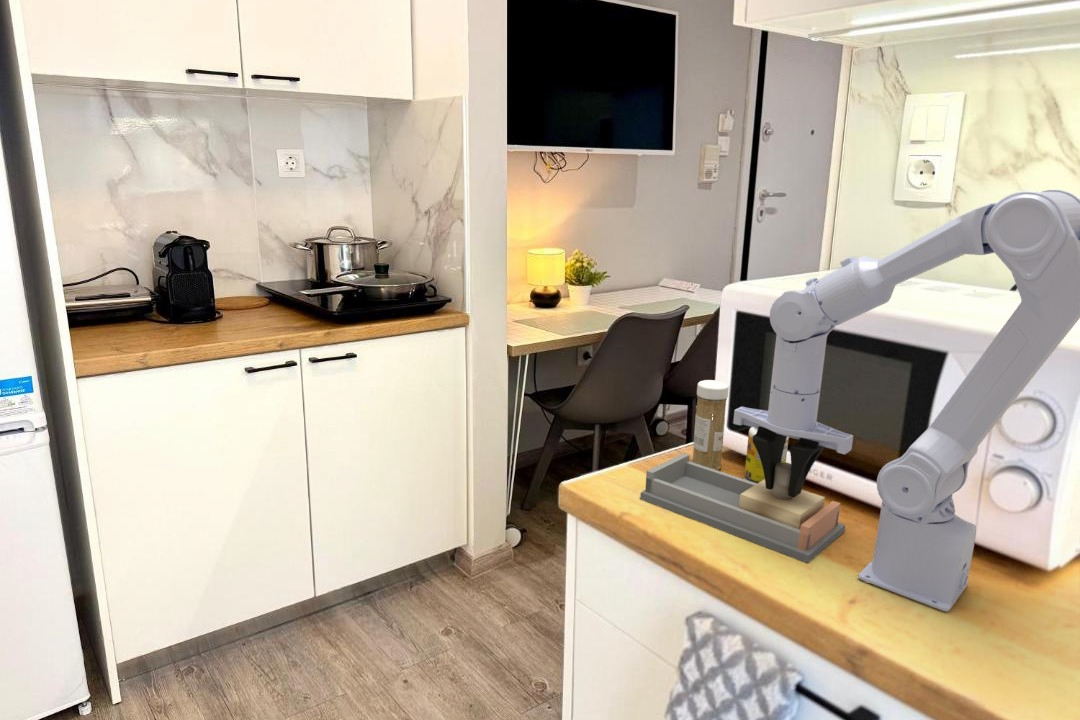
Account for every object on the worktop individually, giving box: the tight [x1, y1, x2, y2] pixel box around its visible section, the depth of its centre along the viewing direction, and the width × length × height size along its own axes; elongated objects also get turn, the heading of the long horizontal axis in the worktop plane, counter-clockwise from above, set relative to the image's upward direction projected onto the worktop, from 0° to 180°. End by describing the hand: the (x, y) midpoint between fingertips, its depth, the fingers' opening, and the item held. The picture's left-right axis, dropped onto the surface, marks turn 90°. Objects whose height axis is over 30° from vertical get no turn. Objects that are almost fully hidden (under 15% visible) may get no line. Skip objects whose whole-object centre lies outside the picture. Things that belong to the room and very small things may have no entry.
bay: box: [639, 452, 846, 564], centre depth 100 cm, size 24×11×4 cm, turn 47°
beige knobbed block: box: [739, 462, 826, 530], centre depth 95 cm, size 8×7×8 cm
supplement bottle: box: [744, 426, 790, 484], centre depth 109 cm, size 6×6×10 cm
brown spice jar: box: [691, 379, 730, 471], centre depth 114 cm, size 5×5×13 cm
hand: (783, 490), depth 95 cm, fingers closed on beige knobbed block, 2 cm apart
